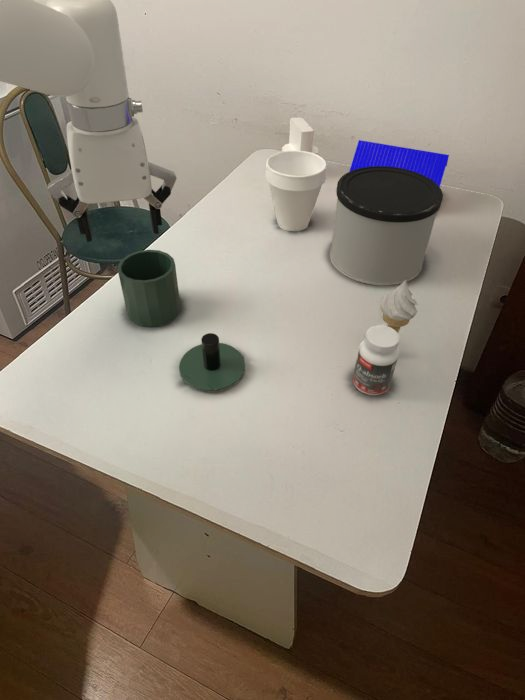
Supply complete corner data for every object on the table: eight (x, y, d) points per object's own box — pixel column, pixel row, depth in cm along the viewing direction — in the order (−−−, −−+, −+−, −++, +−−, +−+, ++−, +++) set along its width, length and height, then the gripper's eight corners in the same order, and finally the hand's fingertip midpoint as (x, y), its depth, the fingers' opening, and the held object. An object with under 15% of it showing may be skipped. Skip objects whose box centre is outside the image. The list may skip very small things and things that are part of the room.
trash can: (130, 331, 87) (119, 286, 80) (125, 298, 93) (115, 254, 86) (184, 322, 89) (178, 277, 82) (176, 290, 95) (170, 246, 88)
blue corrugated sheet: (431, 216, 115) (445, 166, 107) (345, 199, 121) (352, 150, 112) (439, 192, 123) (452, 144, 115) (358, 177, 129) (365, 130, 120)
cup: (276, 204, 118) (278, 146, 109) (327, 215, 115) (334, 155, 106) (256, 231, 110) (256, 170, 101) (311, 243, 107) (316, 181, 97)
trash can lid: (185, 400, 76) (181, 369, 71) (175, 353, 83) (170, 322, 78) (252, 386, 78) (252, 356, 74) (236, 342, 85) (235, 311, 81)
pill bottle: (348, 390, 78) (357, 342, 71) (357, 365, 82) (366, 318, 75) (385, 401, 76) (398, 353, 69) (393, 375, 80) (406, 328, 73)
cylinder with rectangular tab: (321, 178, 128) (326, 129, 120) (287, 182, 126) (289, 133, 118) (309, 163, 134) (313, 115, 126) (276, 167, 132) (278, 119, 124)
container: (321, 234, 109) (328, 166, 99) (407, 231, 111) (423, 163, 100) (338, 288, 96) (349, 216, 85) (436, 284, 97) (458, 212, 87)
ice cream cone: (365, 361, 82) (381, 286, 72) (373, 339, 86) (390, 265, 76) (400, 371, 81) (422, 295, 70) (407, 348, 85) (428, 273, 74)
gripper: (165, 99, 69) (176, 214, 81) (29, 108, 66) (62, 227, 77) (173, 119, 64) (184, 239, 76) (26, 129, 60) (62, 254, 72)
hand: (122, 233), depth 76 cm, fingers open, 9 cm apart
